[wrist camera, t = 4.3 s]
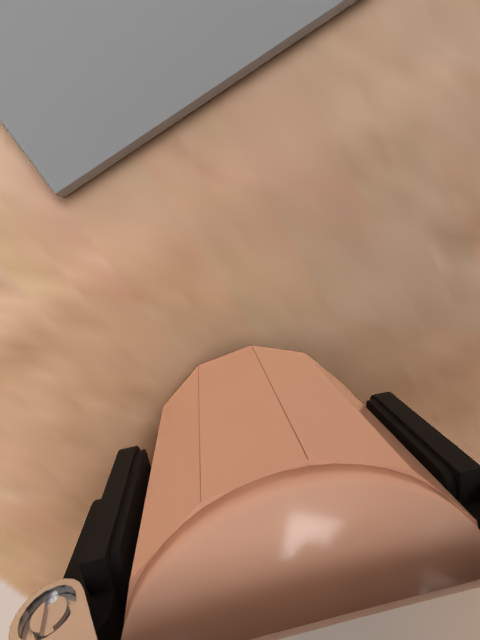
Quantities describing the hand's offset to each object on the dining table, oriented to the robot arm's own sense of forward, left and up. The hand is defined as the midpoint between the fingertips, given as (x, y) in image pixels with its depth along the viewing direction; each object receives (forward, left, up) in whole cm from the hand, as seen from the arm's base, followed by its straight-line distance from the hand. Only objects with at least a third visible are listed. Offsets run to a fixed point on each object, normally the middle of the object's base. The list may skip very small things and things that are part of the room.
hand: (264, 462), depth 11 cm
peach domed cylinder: (0, 0, -1) cm, 1 cm away
